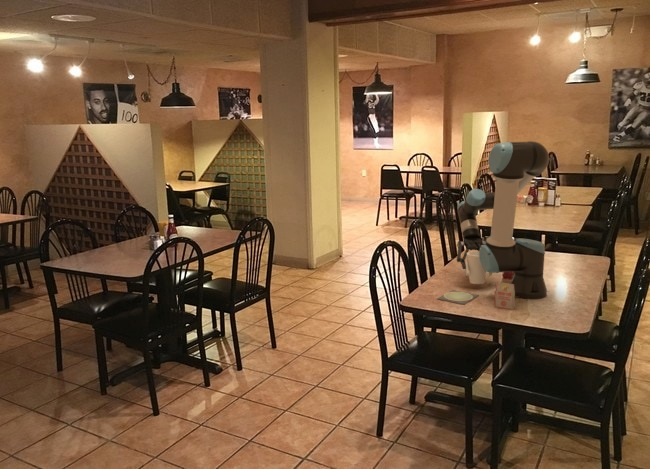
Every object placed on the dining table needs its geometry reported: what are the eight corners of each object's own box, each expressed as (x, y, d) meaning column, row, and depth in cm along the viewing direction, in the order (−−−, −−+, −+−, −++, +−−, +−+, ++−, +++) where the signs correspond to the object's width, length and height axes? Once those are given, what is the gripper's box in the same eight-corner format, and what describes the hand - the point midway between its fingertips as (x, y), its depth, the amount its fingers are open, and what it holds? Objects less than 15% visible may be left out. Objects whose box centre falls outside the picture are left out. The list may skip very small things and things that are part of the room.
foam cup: (464, 284, 249) (465, 255, 247) (467, 278, 258) (468, 250, 255) (486, 286, 246) (487, 256, 243) (489, 280, 254) (490, 251, 251)
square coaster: (478, 296, 240) (479, 294, 240) (463, 304, 229) (463, 303, 229) (453, 291, 247) (453, 289, 247) (437, 299, 237) (437, 297, 237)
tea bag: (497, 304, 229) (498, 280, 227) (514, 307, 225) (515, 283, 223) (494, 307, 226) (495, 283, 224) (511, 310, 222) (512, 285, 220)
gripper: (492, 235, 263) (502, 277, 251) (444, 237, 263) (452, 279, 251) (496, 226, 257) (506, 269, 245) (447, 227, 257) (455, 270, 244)
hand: (479, 274), depth 248 cm, fingers closed on foam cup, 9 cm apart
